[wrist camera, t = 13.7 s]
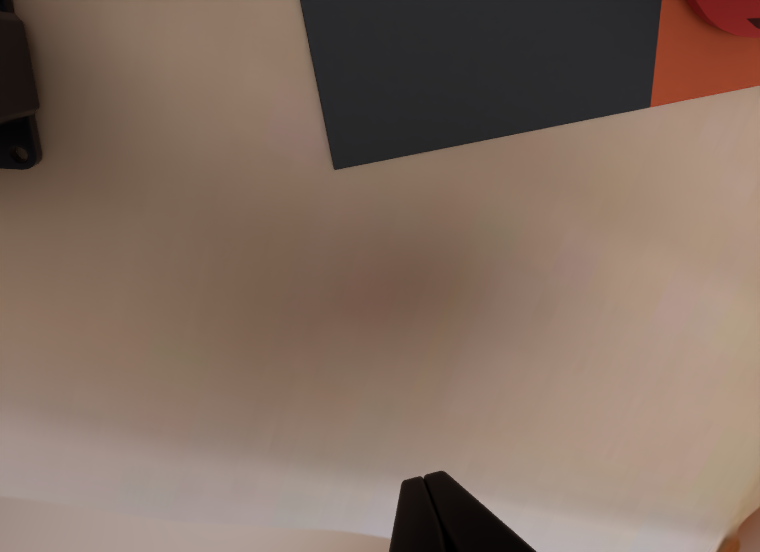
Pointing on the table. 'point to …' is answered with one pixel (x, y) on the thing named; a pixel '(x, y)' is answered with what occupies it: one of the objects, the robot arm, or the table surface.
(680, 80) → the pad
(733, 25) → the canned food
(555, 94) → the mat
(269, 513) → the table surface
